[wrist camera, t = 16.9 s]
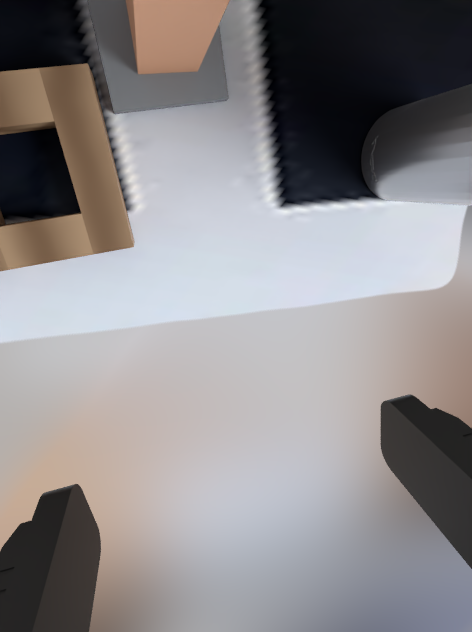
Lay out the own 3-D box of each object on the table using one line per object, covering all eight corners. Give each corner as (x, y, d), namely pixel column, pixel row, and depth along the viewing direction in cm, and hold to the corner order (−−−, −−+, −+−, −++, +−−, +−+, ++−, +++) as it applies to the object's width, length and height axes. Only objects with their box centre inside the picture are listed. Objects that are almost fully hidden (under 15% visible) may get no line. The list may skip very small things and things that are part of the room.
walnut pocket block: (92, 74, 30) (87, 63, 27) (134, 242, 35) (133, 246, 32) (-95, 93, 27) (-122, 83, 25) (-21, 270, 33) (-37, 277, 30)
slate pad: (207, -40, 29) (209, -48, 28) (226, 100, 33) (228, 98, 32) (79, -34, 27) (77, -41, 26) (114, 114, 31) (113, 111, 30)
